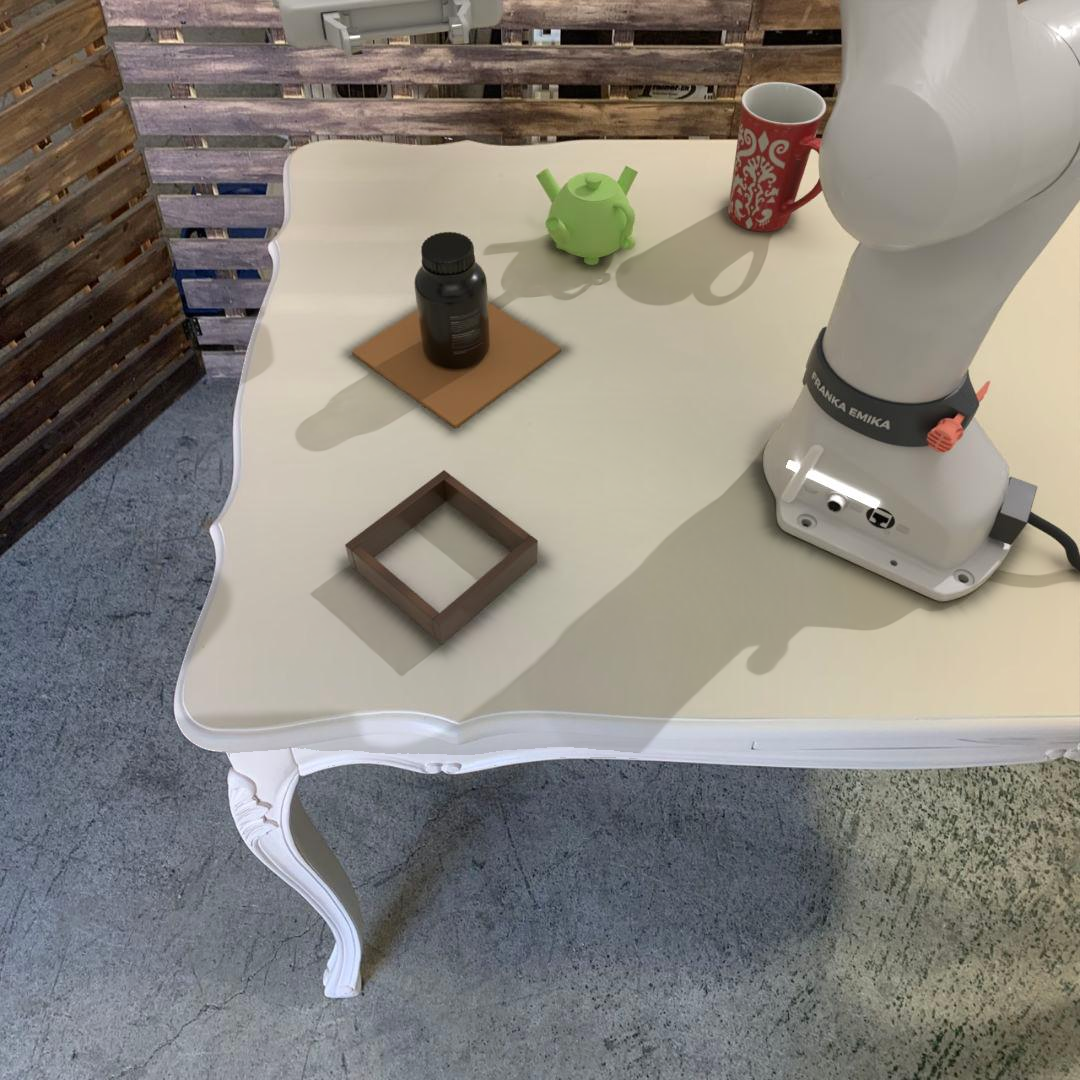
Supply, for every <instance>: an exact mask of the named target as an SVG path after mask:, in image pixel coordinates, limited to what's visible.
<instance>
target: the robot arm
mask: <svg viewBox="0 0 1080 1080" xmlns="http://www.w3.org/2000/svg"><path fill="white" fill-rule="evenodd" d="M271 2H272V4H273V6H274V7H275V9H277V10H279V13H280V18H281V24H282V29H283V33H284V39H285V42H286V44H288V45H289V46H291V47H293V48H296V49H307V48H315V47H324V46H331V47H333V48H336V49H338V50H340V51H343V52H344V55H345V58H346V59H348V58H349V59H350V58H355V57H361V56H364V51H363V48H362V45H363V44H362V42H367V41H374V40H384V39H393V38H400V37H409V36H410V37H411V36H417V35H418V36H419V35H426V34H433V33H434V34H435V33H442V32H447V33H448V39H449V41H450V42H451V45H452V46H454V45H455V46H456V45H465V44H469V43H470V31H471V29H476V28H477V29H479V28H485V27H487V28H488V27H494V26H497V25H498V24H499V23H500V22H501V21H502V20H503V15H504V0H271ZM838 9H839V15H840V18H839V19H840V31H841V66H840V67H841V68H840V78H839V85H838V86H839V87H838V91H837V96H836V99H835V102H834V106H833V108H832V111H831V114H830V116H829V118H828V121H826V122H827V123H826V125H825V127H824V130H823V133H822V136H821V138H820V139H821V144H820V150H819V154H818V175H819V177H820V183H821V187H822V191H821V192H822V195H823V197H824V200H825V203H826V204H827V207H828V209H829V211H830V212H831V215H832V216H833V217H834V219H835V221H836V222H837V223H838V224H839V226H840V227H841V228H842V229H843V230H844V231H845V232H846V233H847V234H848V235H849V236H850V237H851V238H853V239H854V240H856V241H857V242H859V243H858V244H857V246H856V247H855V249H854V251H853V253H852V255H851V256H850V259H849V262H848V264H847V267H846V269H845V273H844V276H843V278H842V282H841V284H840V287H839V291H838V293H837V296H836V299H835V302H834V304H833V307H832V311H831V313H830V315H829V316H830V317H829V320H828V322H827V325H826V326H823V327H822V328H821V330H819V333H818V335H817V338H816V339H815V341H814V343H813V346H812V348H811V350H810V353H809V355H808V358H807V360H806V364H805V371H804V374H803V377H802V385H803V386H802V388H801V390H800V393H799V394H798V397H797V399H796V400H795V402H794V404H793V406H792V408H791V409H790V410H789V413H788V414H787V416H786V417H785V419H784V420H783V422H782V423H781V424H780V426H779V427H778V428H777V430H775V432H773V433H772V435H771V436H770V437H769V439H768V441H767V443H766V445H765V448H764V451H763V457H762V467H763V473H764V476H765V479H766V481H767V484H768V486H769V488H770V490H771V491H772V494H773V496H774V498H775V502H776V503H775V505H776V506H775V507H776V509H775V510H776V511H775V512H776V513H775V514H776V522H777V525H778V526H779V528H780V529H781V530H782V531H784V532H785V533H787V534H789V535H791V536H793V537H796V538H798V539H800V540H802V541H804V542H807V543H809V544H811V545H814V546H815V547H818V548H820V549H822V550H824V551H827V552H828V553H830V554H833V555H835V556H838V557H840V558H842V559H844V560H847V561H848V562H850V563H852V564H855V565H857V566H859V567H861V568H864V569H866V570H868V571H870V572H872V573H875V574H876V575H879V576H881V577H883V578H885V579H888V580H890V581H892V582H894V583H897V584H899V585H901V586H903V587H905V588H908V589H910V590H912V591H914V592H916V593H919V594H920V595H924V596H926V597H927V598H929V599H932V600H935V601H937V602H947V601H953V600H956V599H960V598H961V597H965V596H966V595H968V594H971V593H972V592H974V591H976V590H977V589H978V588H980V587H981V586H982V585H984V583H985V582H986V581H988V579H990V578H991V577H992V576H993V574H994V573H995V572H996V571H997V569H998V568H999V567H1000V566H1001V565H1002V563H1003V561H1005V559H1006V557H1007V555H1008V554H1009V551H1010V550H1011V548H1012V546H1013V544H1014V542H1015V540H1017V538H1018V537H1019V535H1020V534H1021V533H1022V531H1023V530H1024V528H1025V527H1026V526H1027V525H1028V524H1029V525H1031V526H1032V527H1033V528H1036V529H1038V530H1039V531H1041V532H1043V533H1045V534H1046V535H1048V536H1050V537H1051V538H1052V539H1053V540H1055V541H1056V542H1057V543H1058V544H1060V545H1061V547H1062V548H1063V549H1064V551H1065V555H1066V559H1067V561H1068V563H1069V564H1070V565H1071V566H1072V568H1073V569H1076V570H1077V571H1079V572H1080V550H1079V547H1078V544H1077V542H1076V541H1075V540H1074V539H1073V538H1072V537H1071V536H1070V535H1069V534H1068V533H1066V531H1064V530H1063V529H1061V528H1059V527H1058V526H1056V524H1054V523H1052V522H1050V521H1048V520H1046V519H1045V518H1043V517H1041V516H1039V515H1038V514H1036V513H1035V512H1033V511H1032V507H1033V504H1034V501H1035V497H1036V494H1037V490H1038V485H1035V484H1033V483H1029V482H1028V481H1025V480H1021V479H1019V478H1016V477H1013V476H1010V467H1009V464H1008V462H1007V460H1006V459H1005V457H1004V456H1003V455H1002V453H1001V452H1000V450H998V448H997V447H996V445H995V444H994V442H993V441H992V440H991V438H990V437H989V436H988V434H987V432H985V430H984V428H983V427H982V426H981V424H980V422H979V421H978V420H977V419H976V417H975V415H976V413H977V411H978V409H979V406H980V403H981V402H982V400H983V399H984V398H985V395H986V394H987V393H988V390H989V388H990V384H991V381H990V380H988V381H986V382H985V383H984V384H983V385H982V387H981V388H980V389H979V390H978V391H977V392H976V391H975V388H974V386H973V383H972V381H971V377H970V371H969V368H970V366H971V364H972V362H973V361H974V359H975V357H976V355H977V353H978V352H979V350H980V348H981V346H982V345H983V342H984V340H985V339H986V337H987V335H988V333H989V331H990V329H991V327H992V326H993V324H994V322H995V320H996V318H997V317H998V315H999V313H1000V311H1002V310H1001V309H1002V308H1003V306H1004V304H1005V303H1006V301H1007V300H1008V298H1009V297H1010V296H1011V294H1012V293H1013V291H1014V289H1015V288H1016V286H1017V285H1018V284H1019V283H1020V281H1021V280H1022V278H1023V276H1024V275H1025V274H1026V273H1027V272H1028V270H1029V269H1030V267H1031V266H1032V265H1033V264H1034V263H1035V261H1036V260H1037V259H1038V258H1039V256H1040V255H1041V254H1042V253H1043V251H1044V250H1045V248H1046V247H1047V246H1048V244H1049V243H1050V242H1051V240H1052V239H1053V238H1054V237H1055V235H1056V234H1057V232H1058V231H1059V229H1060V228H1061V227H1062V226H1063V224H1064V223H1065V222H1066V221H1067V219H1068V218H1069V216H1070V215H1071V213H1072V212H1073V211H1074V209H1075V208H1076V207H1077V205H1078V203H1079V202H1080V0H1025V1H1023V2H1021V3H1019V2H1018V0H838Z"/></svg>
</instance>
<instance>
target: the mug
mask: <svg viewBox="0 0 1080 1080" xmlns="http://www.w3.org/2000/svg"><path fill="white" fill-rule="evenodd" d="M740 104H741V113H740V119H739V127H738V133H737V140H736V141H737V142H736V150H735V156H734V162H733V171H732V178H731V186H730V193H729V200H728V207H727V214H728V216H729V218H730V220H731V221H732V222H733V223H735V224H736V225H738V226H740V227H741V228H744V229H747V230H750V231H755V232H773V231H776V230H779V229H781V228H783V227H784V226H786V225H787V224H788V222H789V220H790V218H791V215H792V213H794V212H796V211H797V210H799V209H800V208H803V206H805V205H806V204H808V203H810V202H811V201H812V200H813V199H815V198H816V197H817V196H818V195H820V193H822V192H823V191H822V187H821V183H820V177H819V178H818V180H817V182H816V183H815V185H814V186H813V187H812V189H811V190H810V191H808V192H807V193H806V194H805V195H804V196H802V197H801V198H799V199H798V200H796V199H797V196H798V193H799V190H800V187H801V183H802V180H803V176H804V174H805V170H806V167H807V164H808V161H809V159H810V155H811V152H812V150H813V151H815V152H816V153H817V154H818V155H819V150H820V144H821V139H822V138H820V137H816V136H817V134H818V130H819V127H820V125H821V122H822V121H821V120H822V118H823V117H824V115H825V113H826V111H827V103H826V101H825V100H824V98H823V97H822V96H821V95H820V94H819V93H817V91H814V90H812V89H810V88H808V87H805V86H803V85H800V84H795V83H791V82H785V81H783V82H781V81H771V82H764V83H760V84H759V83H758V84H755V85H753V86H751V87H749V88H747V89H746V90H745V91H744V92H743V94H742V95H741V99H740Z"/></svg>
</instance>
